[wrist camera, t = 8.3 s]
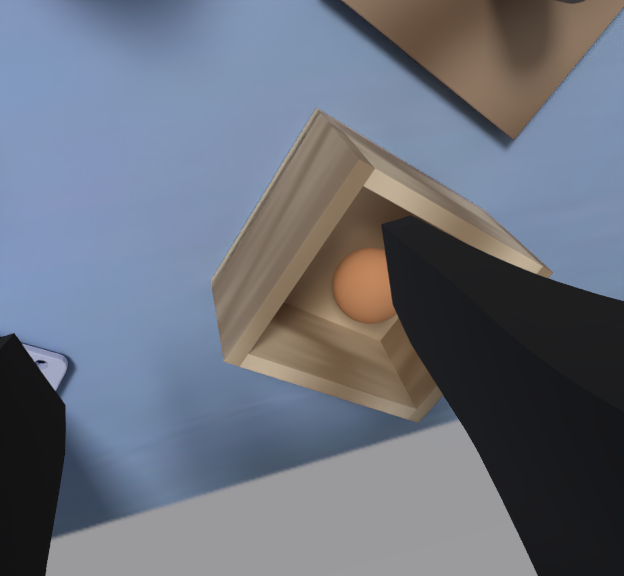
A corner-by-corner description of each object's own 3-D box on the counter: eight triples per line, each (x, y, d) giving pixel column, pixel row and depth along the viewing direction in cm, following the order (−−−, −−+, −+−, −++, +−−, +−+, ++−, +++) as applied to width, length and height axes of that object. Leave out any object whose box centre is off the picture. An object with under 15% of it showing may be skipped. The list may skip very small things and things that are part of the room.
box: (210, 280, 23) (224, 361, 19) (316, 107, 20) (358, 159, 16) (378, 345, 27) (418, 423, 23) (485, 211, 24) (553, 272, 20)
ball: (310, 281, 23) (329, 324, 21) (351, 222, 22) (375, 261, 20) (366, 304, 24) (389, 348, 22) (406, 251, 23) (436, 290, 21)
